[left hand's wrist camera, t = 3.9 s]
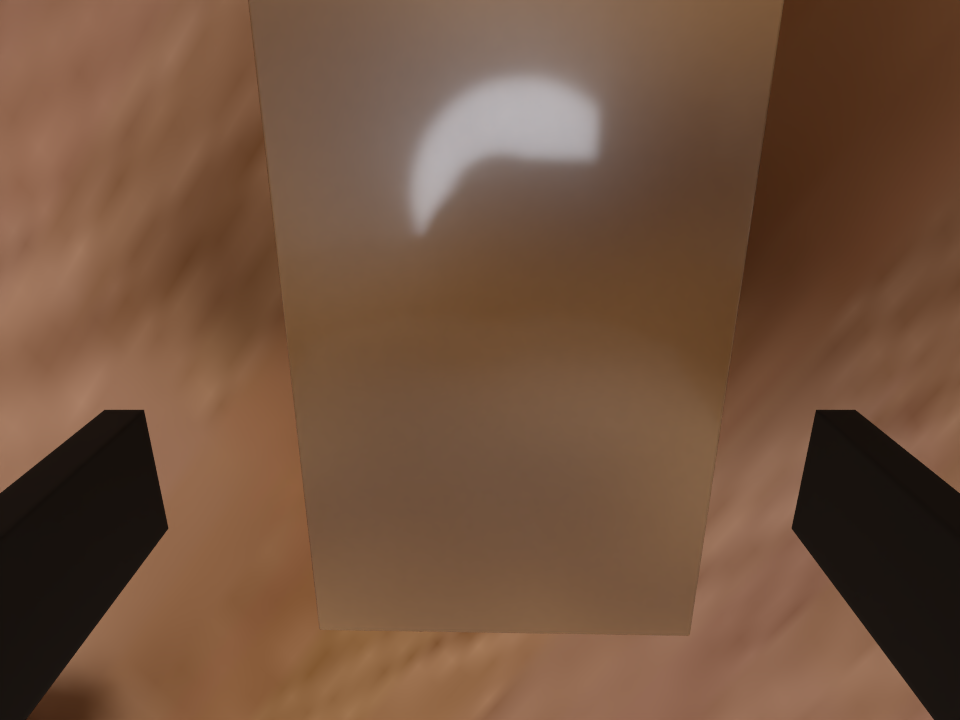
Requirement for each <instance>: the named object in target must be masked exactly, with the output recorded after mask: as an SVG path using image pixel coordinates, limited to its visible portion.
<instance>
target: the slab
mask: <svg viewBox="0 0 960 720" xmlns="http://www.w3.org/2000/svg"><path fill="white" fill-rule="evenodd" d="M248 3H249V12H250V21H251V30H252V39H253V48H254V56H255V65H256V74H257V83H258V92H259V100H260V109H261V118H262V127H263V136H264V144H265V153H266V162H267V171H268V180H269V188H270V197H271V206H272V215H273V224H274V232H275V241H276V250H277V259H278V268H279V277H280V285H281V294H282V303H283V312H284V321H285V329H286V338H287V347H288V356H289V365H290V373H291V382H292V391H293V400H294V409H295V417H296V426H297V435H298V444H299V453H300V461H301V470H302V479H303V488H304V497H305V505H306V514H307V523H308V532H309V541H310V550H311V558H312V567H313V576H314V585H315V594H316V602H317V611H318V620H319V628H320V629H321V630H370V631H431V632H493V633H554V634H615V635H676V636H689V635H690V629H691V622H692V615H693V609H694V602H695V595H696V588H697V582H698V575H699V568H700V562H701V555H702V548H703V542H704V535H705V528H706V521H707V515H708V508H709V501H710V495H711V488H712V481H713V474H714V468H715V461H716V454H717V448H718V441H719V434H720V427H721V421H722V414H723V407H724V401H725V394H726V387H727V380H728V374H729V367H730V360H731V354H732V347H733V340H734V334H735V327H736V320H737V313H738V307H739V300H740V293H741V287H742V280H743V273H744V266H745V260H746V253H747V246H748V240H749V233H750V226H751V219H752V213H753V206H754V199H755V193H756V186H757V179H758V173H759V166H760V159H761V152H762V146H763V139H764V132H765V126H766V119H767V112H768V105H769V99H770V92H771V85H772V79H773V72H774V65H775V58H776V52H777V45H778V38H779V32H780V25H781V18H782V11H783V5H784V0H248Z"/></svg>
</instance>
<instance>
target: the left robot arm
mask: <svg viewBox="0 0 960 720" xmlns="http://www.w3.org/2000/svg"><path fill="white" fill-rule="evenodd" d="M167 530H168V524H167V520H166V515H165V510H164V505H163V500H162V495H161V490H160V486H159V481H158V476H157V471H156V466H155V461H154V457H153V452H152V447H151V442H150V437H149V432H148V427H147V423H146V418H145V413H144V410H104V411H103V412H101V413H100V414H99V415H98V416H96V417H95V418H94V419H93V420H91V421H90V422H89V423H88V424H86V425H85V426H84V427H83V428H81V429H80V430H79V431H78V432H76V433H75V434H74V435H73V436H71V437H70V438H69V439H68V440H66V441H65V442H64V443H63V444H61V445H60V446H59V447H58V448H56V449H55V450H54V451H53V452H51V453H50V454H49V455H48V456H46V457H45V458H44V459H43V460H41V461H40V462H39V463H38V464H36V465H35V466H34V467H33V468H31V469H30V470H29V471H28V472H26V473H25V474H24V475H23V476H21V477H20V478H19V479H18V480H16V481H15V482H14V483H13V484H11V485H10V486H9V487H8V488H6V489H5V490H4V491H3V492H1V493H0V720H26V719H27V718H28V716H29V715H30V714H31V712H32V711H33V710H34V708H35V707H36V705H37V704H38V703H39V701H40V700H41V699H42V697H43V696H44V695H45V693H46V692H47V691H48V689H49V688H50V687H51V685H52V684H53V683H54V681H55V680H56V679H57V677H58V676H59V675H60V673H61V672H62V671H63V669H64V668H65V667H66V665H67V664H68V663H69V661H70V660H71V658H72V657H73V656H74V654H75V653H76V652H77V650H78V649H79V648H80V646H81V645H82V644H83V642H84V641H85V640H86V638H87V637H88V636H89V634H90V633H91V632H92V630H93V629H94V628H95V626H96V625H97V624H98V622H99V621H100V620H101V618H102V617H103V616H104V614H105V613H106V611H107V610H108V609H109V607H110V606H111V605H112V603H113V602H114V601H115V599H116V598H117V597H118V595H119V594H120V593H121V591H122V590H123V589H124V587H125V586H126V585H127V583H128V582H129V581H130V579H131V578H132V577H133V575H134V574H135V573H136V571H137V570H138V569H139V567H140V566H141V565H142V563H143V562H144V560H145V559H146V558H147V556H148V555H149V554H150V552H151V551H152V550H153V548H154V547H155V546H156V544H157V543H158V542H159V540H160V539H161V538H162V536H163V535H164V534H165V532H166V531H167ZM792 530H793V531H794V532H795V534H796V535H797V536H798V538H799V539H800V540H801V542H802V543H803V544H804V546H805V547H806V548H807V550H808V551H809V552H810V554H811V555H812V556H813V558H814V559H815V560H816V562H817V563H818V565H819V566H820V567H821V569H822V570H823V571H824V573H825V574H826V575H827V577H828V578H829V579H830V581H831V582H832V583H833V585H834V586H835V587H836V589H837V590H838V591H839V593H840V594H841V595H842V597H843V598H844V599H845V601H846V602H847V603H848V605H849V606H850V607H851V609H852V610H853V612H854V613H855V614H856V616H857V617H858V618H859V620H860V621H861V622H862V624H863V625H864V626H865V628H866V629H867V630H868V632H869V633H870V634H871V636H872V637H873V638H874V640H875V641H876V642H877V644H878V645H879V646H880V648H881V649H882V650H883V652H884V653H885V654H886V656H887V657H888V658H889V660H890V661H891V663H892V664H893V665H894V667H895V668H896V669H897V671H898V672H899V673H900V675H901V676H902V677H903V679H904V680H905V681H906V683H907V684H908V685H909V687H910V688H911V689H912V691H913V692H914V693H915V695H916V696H917V697H918V699H919V700H920V701H921V703H922V704H923V705H924V707H925V708H926V710H927V711H928V712H929V714H930V715H931V716H932V718H933V719H934V720H960V493H959V492H957V491H956V490H955V489H954V488H952V487H951V486H950V485H949V484H947V483H946V482H945V481H944V480H942V479H941V478H940V477H939V476H937V475H936V474H935V473H934V472H932V471H931V470H930V469H929V468H927V467H926V466H925V465H924V464H922V463H921V462H920V461H919V460H917V459H916V458H915V457H914V456H912V455H911V454H910V453H909V452H907V451H906V450H905V449H904V448H902V447H901V446H900V445H899V444H897V443H896V442H895V441H894V440H892V439H891V438H890V437H889V436H887V435H886V434H885V433H884V432H882V431H881V430H880V429H879V428H877V427H876V426H875V425H874V424H872V423H871V422H870V421H869V420H867V419H866V418H865V417H864V416H862V415H861V414H860V413H859V412H857V411H856V410H816V413H815V418H814V423H813V427H812V432H811V437H810V442H809V447H808V452H807V456H806V461H805V466H804V471H803V476H802V481H801V486H800V490H799V495H798V500H797V505H796V510H795V515H794V520H793V524H792Z"/></svg>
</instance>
